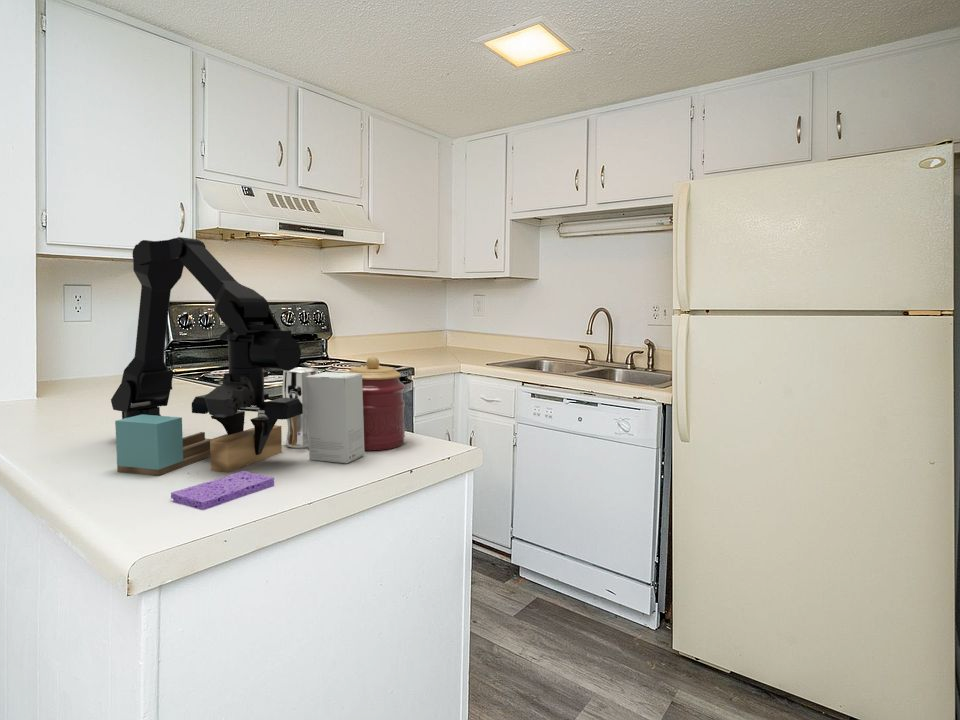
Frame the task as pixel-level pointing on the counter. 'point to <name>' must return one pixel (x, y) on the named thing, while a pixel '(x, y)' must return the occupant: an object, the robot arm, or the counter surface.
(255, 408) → the robot arm
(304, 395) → the silver tall cylinder
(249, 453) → the wooden block
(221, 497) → the sponges
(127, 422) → the end cap
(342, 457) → the skincare box
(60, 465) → the counter surface
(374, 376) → the canister
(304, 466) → the counter surface
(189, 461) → the board
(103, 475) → the counter surface
